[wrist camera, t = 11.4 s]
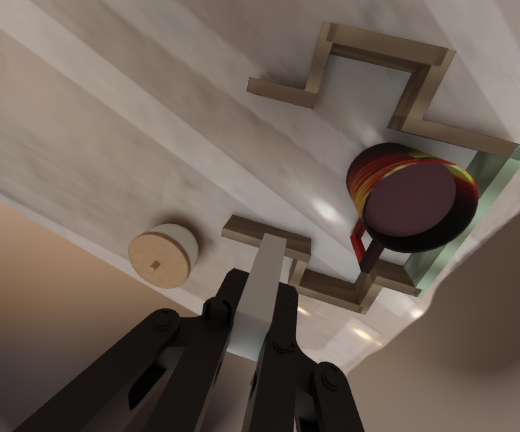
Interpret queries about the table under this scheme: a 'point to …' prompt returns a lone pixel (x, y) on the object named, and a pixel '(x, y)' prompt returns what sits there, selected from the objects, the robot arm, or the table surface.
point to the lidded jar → (164, 255)
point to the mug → (407, 201)
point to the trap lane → (404, 119)
